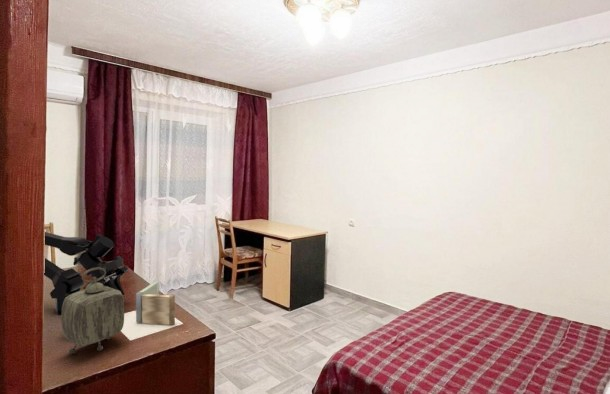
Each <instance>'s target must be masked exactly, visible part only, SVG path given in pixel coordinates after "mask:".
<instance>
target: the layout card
mask: <svg viewBox="0 0 610 394" xmlns="http://www.w3.org/2000/svg"><path fill="white" fill-rule="evenodd" d="M181 325H184V323H183V322H182V321H180V320H179V319H178V318H176V317H175V325H173V326H171V325H161V324H144V323H142V322H140V323H137V322H136V309H135V310H132V311H129V312H124V324H123V328H122V330H121V331H120V332H121V333H122V334H123V335H124V336H125V337H126V338H127V339H128V340H129V341H133V340H137V339H140V338H143V337H146V336H149V335H153V334H156V333H159V332H162V331H166V330H168V329H171V328H174V327H177V326H181Z"/></svg>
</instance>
